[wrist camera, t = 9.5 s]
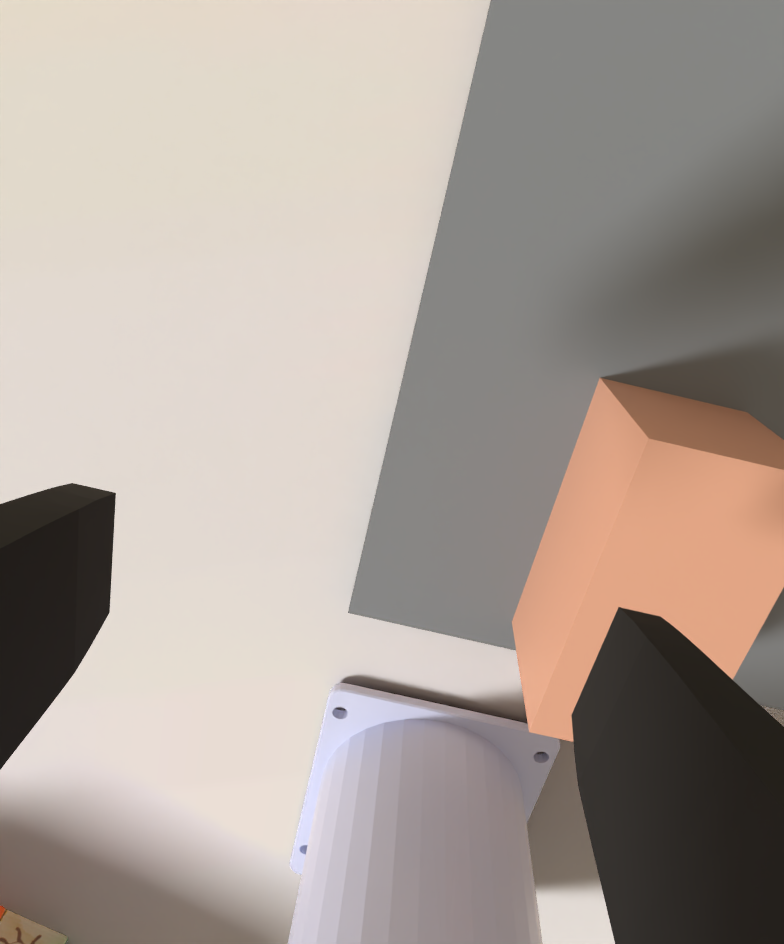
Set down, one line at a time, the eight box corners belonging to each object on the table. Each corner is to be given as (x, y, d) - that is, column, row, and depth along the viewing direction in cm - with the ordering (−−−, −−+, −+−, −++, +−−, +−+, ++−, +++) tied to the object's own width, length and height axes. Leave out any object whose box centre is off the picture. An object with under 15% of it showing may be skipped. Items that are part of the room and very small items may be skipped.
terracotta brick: (636, 650, 21) (684, 766, 17) (511, 622, 21) (529, 732, 16) (747, 412, 17) (840, 483, 13) (599, 377, 17) (648, 438, 13)
